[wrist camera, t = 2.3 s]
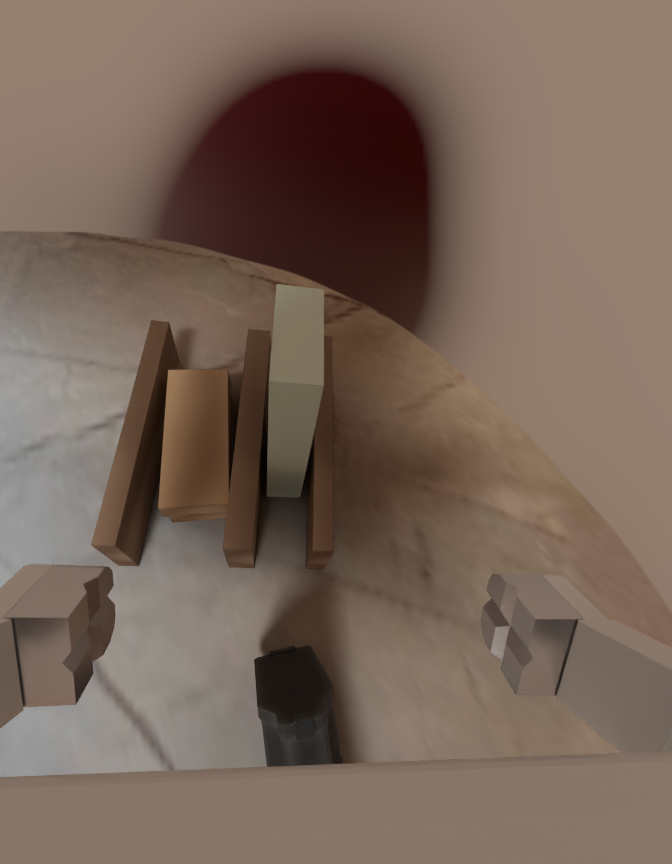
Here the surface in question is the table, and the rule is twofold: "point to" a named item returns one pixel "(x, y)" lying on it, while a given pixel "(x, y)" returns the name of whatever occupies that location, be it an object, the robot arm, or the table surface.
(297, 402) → the tall panel
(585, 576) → the table surface
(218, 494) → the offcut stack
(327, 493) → the walnut rack
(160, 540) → the table surface
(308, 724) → the magazine
